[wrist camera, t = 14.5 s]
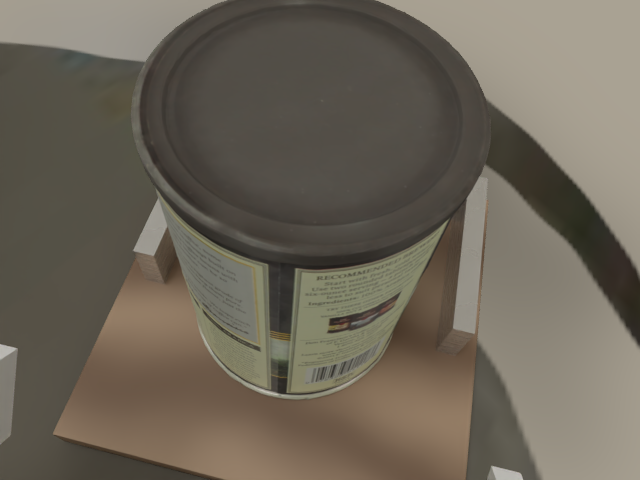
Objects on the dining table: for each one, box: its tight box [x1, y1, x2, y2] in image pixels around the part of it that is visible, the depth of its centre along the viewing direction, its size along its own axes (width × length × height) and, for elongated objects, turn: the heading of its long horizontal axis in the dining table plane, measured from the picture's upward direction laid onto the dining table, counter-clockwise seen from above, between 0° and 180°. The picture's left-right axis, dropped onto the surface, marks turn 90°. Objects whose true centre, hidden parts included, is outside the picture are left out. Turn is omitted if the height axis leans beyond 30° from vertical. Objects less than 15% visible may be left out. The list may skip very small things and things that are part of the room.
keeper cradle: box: [133, 177, 488, 356], centre depth 26 cm, size 10×16×9 cm, turn 77°
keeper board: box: [53, 200, 488, 480], centre depth 28 cm, size 18×18×2 cm
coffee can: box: [131, 0, 491, 400], centre depth 22 cm, size 10×10×14 cm
